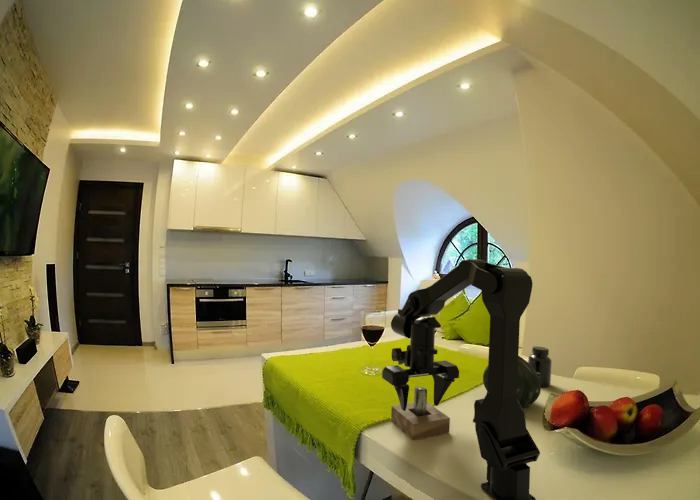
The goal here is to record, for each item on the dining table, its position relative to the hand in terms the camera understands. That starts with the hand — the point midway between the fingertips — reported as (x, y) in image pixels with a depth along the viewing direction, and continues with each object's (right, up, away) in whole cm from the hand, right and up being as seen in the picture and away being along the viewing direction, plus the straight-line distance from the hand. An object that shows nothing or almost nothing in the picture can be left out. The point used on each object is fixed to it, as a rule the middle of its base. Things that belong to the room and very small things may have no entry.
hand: (420, 407), depth 86 cm
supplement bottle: (+46, -7, +32) cm, 57 cm away
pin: (0, -5, 0) cm, 4 cm away
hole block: (0, -5, 0) cm, 4 cm away
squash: (+30, -6, +17) cm, 35 cm away
